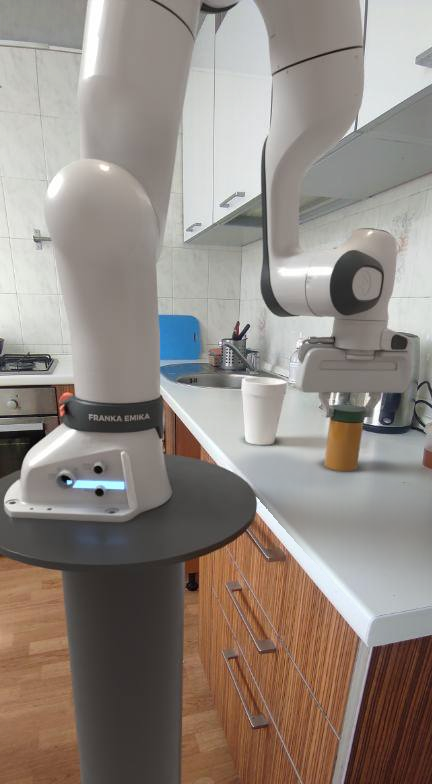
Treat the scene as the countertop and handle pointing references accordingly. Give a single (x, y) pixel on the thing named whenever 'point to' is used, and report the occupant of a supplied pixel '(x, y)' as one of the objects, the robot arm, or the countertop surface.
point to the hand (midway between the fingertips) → (347, 416)
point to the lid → (348, 413)
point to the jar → (343, 445)
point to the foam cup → (262, 408)
